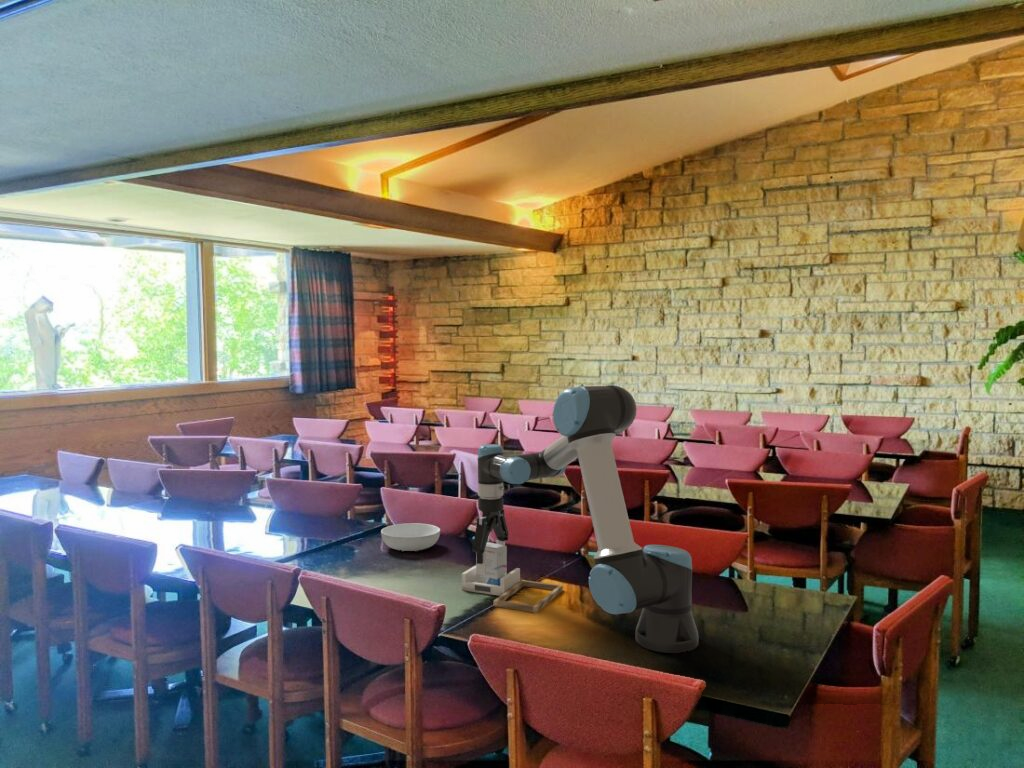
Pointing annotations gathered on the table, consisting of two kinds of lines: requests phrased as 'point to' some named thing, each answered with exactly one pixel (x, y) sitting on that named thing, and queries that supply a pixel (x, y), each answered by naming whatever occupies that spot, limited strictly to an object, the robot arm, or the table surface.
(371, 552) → the table surface
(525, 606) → the tray frame
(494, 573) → the ink box
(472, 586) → the tray
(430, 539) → the serving bowl
